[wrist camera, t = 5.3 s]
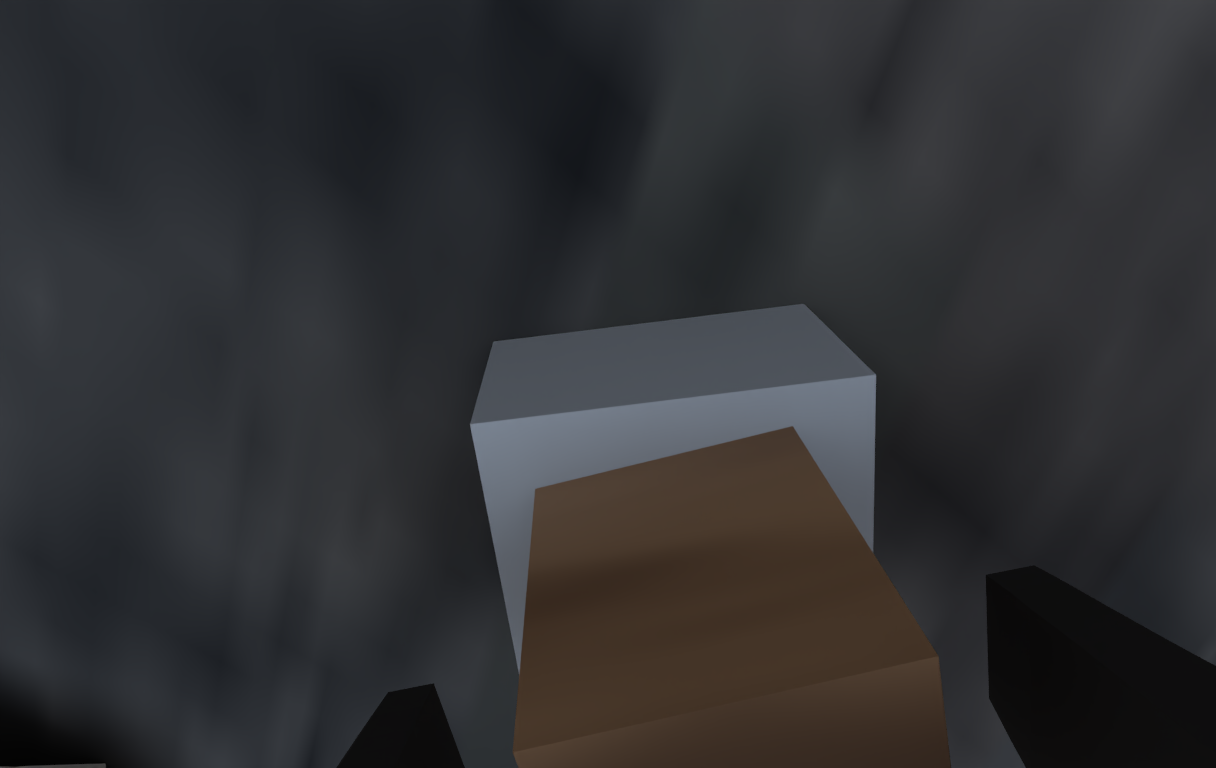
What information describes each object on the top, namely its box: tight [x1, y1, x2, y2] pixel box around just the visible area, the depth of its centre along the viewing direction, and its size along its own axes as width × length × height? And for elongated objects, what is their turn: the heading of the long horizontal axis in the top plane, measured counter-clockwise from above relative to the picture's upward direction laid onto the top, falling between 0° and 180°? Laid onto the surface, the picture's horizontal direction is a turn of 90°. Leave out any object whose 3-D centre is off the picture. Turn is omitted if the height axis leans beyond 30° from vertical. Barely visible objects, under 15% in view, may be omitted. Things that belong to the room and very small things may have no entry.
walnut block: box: [513, 426, 951, 768], centre depth 10 cm, size 4×4×5 cm
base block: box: [470, 304, 876, 674], centre depth 14 cm, size 6×6×4 cm
